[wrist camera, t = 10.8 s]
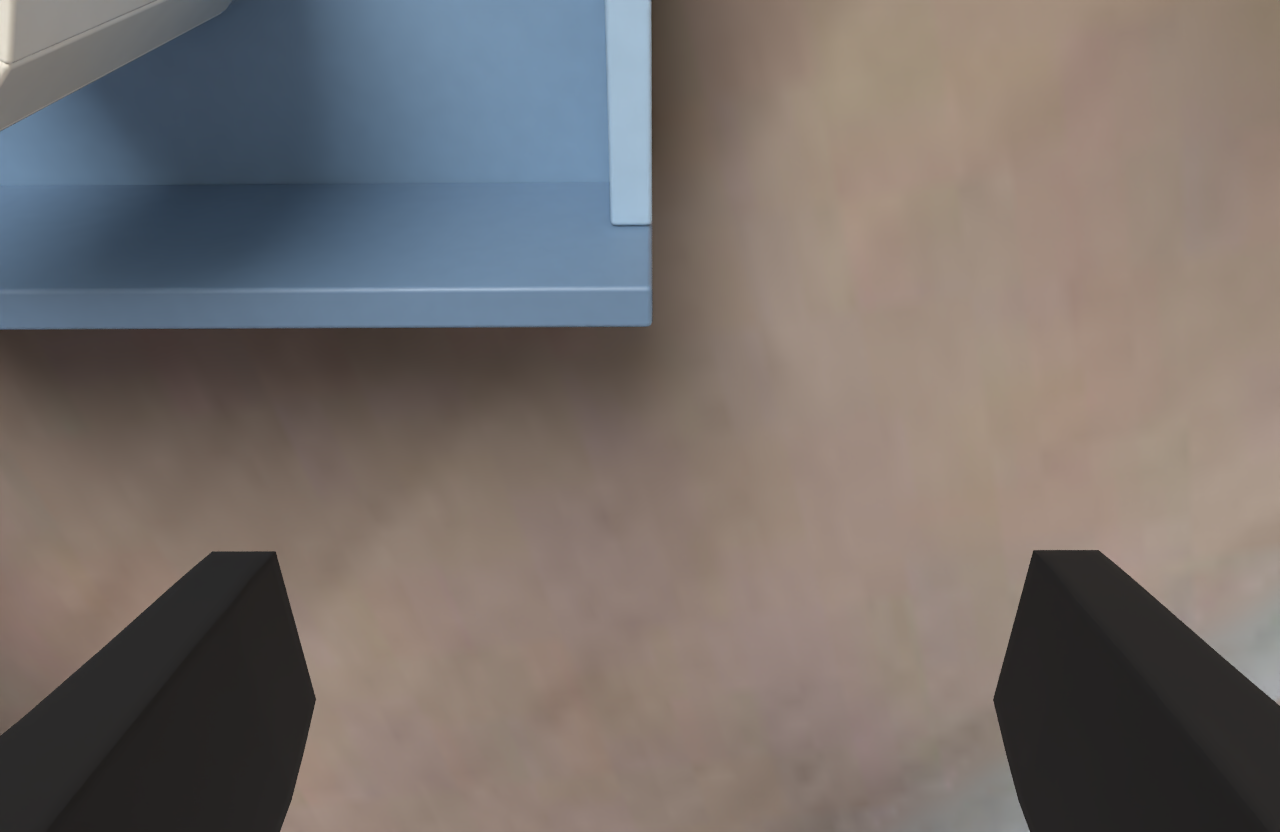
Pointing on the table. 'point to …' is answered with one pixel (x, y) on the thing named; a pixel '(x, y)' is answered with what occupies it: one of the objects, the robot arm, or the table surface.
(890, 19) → the table surface
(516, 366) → the table surface
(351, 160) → the light blue shelf
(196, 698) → the robot arm
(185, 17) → the cup
